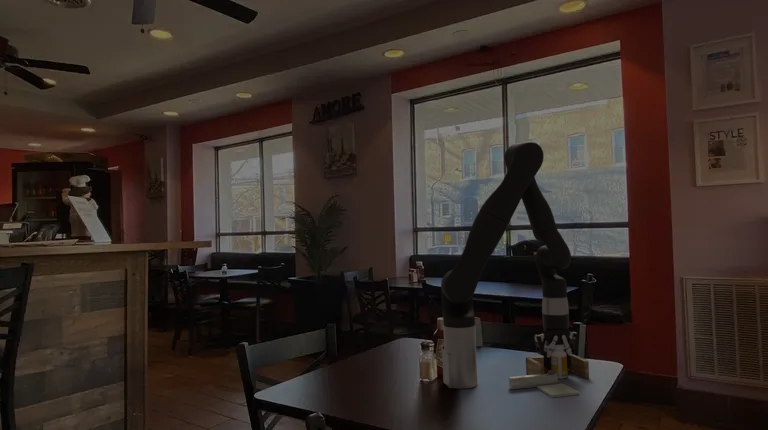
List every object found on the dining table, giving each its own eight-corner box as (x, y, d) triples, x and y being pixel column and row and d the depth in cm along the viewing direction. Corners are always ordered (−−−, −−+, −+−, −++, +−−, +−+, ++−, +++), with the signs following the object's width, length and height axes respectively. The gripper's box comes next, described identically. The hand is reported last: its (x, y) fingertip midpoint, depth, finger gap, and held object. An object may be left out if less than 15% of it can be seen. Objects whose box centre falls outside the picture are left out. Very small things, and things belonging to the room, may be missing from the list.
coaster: (551, 397, 137) (551, 395, 137) (537, 388, 145) (537, 386, 145) (579, 394, 138) (579, 392, 138) (563, 385, 146) (563, 383, 146)
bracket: (540, 382, 150) (539, 365, 150) (526, 373, 159) (525, 357, 159) (589, 378, 152) (588, 361, 152) (572, 369, 161) (571, 353, 161)
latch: (511, 389, 144) (511, 374, 144) (509, 387, 145) (508, 373, 146) (558, 384, 146) (557, 370, 146) (555, 383, 148) (554, 369, 148)
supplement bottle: (565, 373, 157) (563, 341, 157) (569, 379, 152) (568, 345, 152) (546, 374, 158) (545, 342, 158) (550, 379, 152) (549, 346, 153)
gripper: (539, 315, 150) (541, 373, 150) (584, 312, 153) (586, 369, 152) (527, 311, 158) (529, 367, 157) (570, 308, 160) (573, 363, 160)
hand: (557, 368), depth 155 cm, fingers closed on supplement bottle, 5 cm apart
